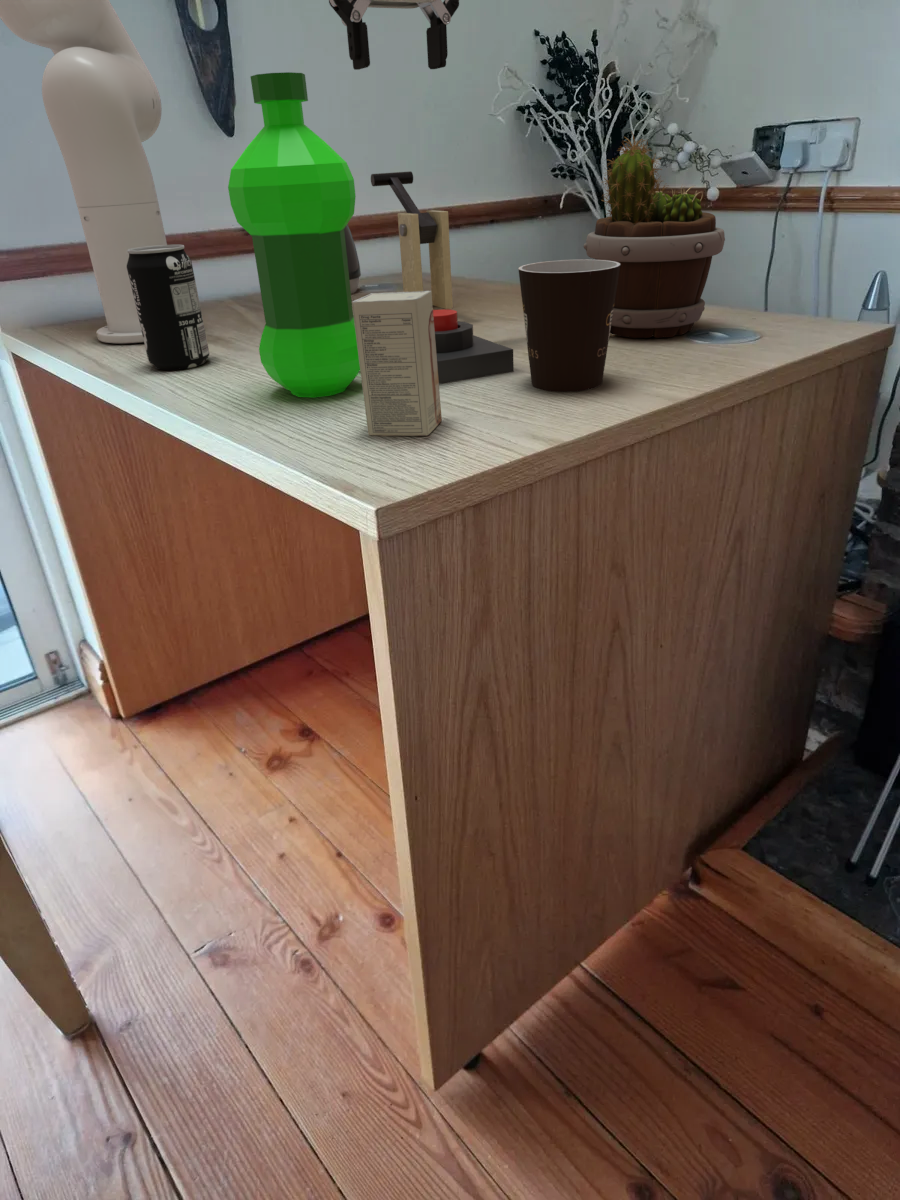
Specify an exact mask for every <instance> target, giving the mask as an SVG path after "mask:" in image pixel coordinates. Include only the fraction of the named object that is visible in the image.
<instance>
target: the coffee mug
mask: <svg viewBox="0 0 900 1200" xmlns="http://www.w3.org/2000/svg"><path fill="white" fill-rule="evenodd" d="M517 269H518V277H519V285H520V294H521V295H520V296H521V303H522V311H523V320H524V329H525V330H524V331H525V339H526V346H527V353H528V354H527V355H528V364H529V374H530V380H531V381H530V382H531V386H532V387H533V388H535V389H537V390H539V391H540V390H541V391H546V392H552V393H575V392H584V391H589V390H593V389H597V388H599V387H600V386H601V385H602V384H603V380H604V374H605V367H606V359H607V354H608V347H609V341H610V334H611V333H610V328H611V322H612V315H613V309H614V302H615V296H616V289H617V283H618V276H619V270H620V263H618V262H615V261H607V260H595V259H561V260H560V259H559V260H547V261H539V262H533V263H528V264H523V265H521V266H519V267H517Z"/></svg>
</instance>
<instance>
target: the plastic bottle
mask: <svg viewBox="0 0 900 1200" xmlns="http://www.w3.org/2000/svg"><path fill="white" fill-rule="evenodd" d="M249 78H250V83H251V91H252V97H253V103H254V104H257V105H260V106H261V112H262V118H263V125H264V126H263V127H262V129H260V131H259V132H258V133H257V134H256V135H255V137H254V138H253V139H252V140H251V141H250V143H249V144H248V145H247V146H246V148H245V149H244V151H243V152H242V153H241V154H240V156H239V157H238V159H237V160H236V161H235V163H234V164H233V166H232V167H231V168H230V172H229V179H228V186H227V189H228V193H229V194H228V195H229V200H230V201H229V202H230V206H231V209H232V212H233V214H234V218H235V220H236V222H237V223H238V225H239V226H241V228H242V229H244V230H245V231H246V232H247V233H248V234H249V235H250V237H251V238H252V246H253V252H254V259H255V264H256V271H257V277H258V283H259V291H260V296H261V297H260V298H261V302H262V309H263V315H264V322H265V325H264V328H263V331H262V332H261V337H260V342H259V345H258V352H259V358H260V363H261V365H262V367H263V368H264V370H265V372H266V373H267V375H268V376H269V377H270V379H272V380H273V381H274V382H275V383H276V384H279V386H281V387H283V388H284V389H285V390H287V391H290V394H291V395H293V396H296V397H298V398H311V399H312V398H313V399H315V398H323V397H331V396H335V395H337V394H340V393H344V392H345V391H346V389H347V387H349V385H350V384H351V383H352V382H353V381H354V380H355V379H356V377H357V376H358V374H359V372H360V364H359V356H358V348H357V340H356V332H355V324H354V316H353V307H352V301H353V300H352V294H351V290H350V281H349V271H348V262H347V252H346V243H345V234H344V228H345V227H346V225H347V224H348V223H350V221H351V219H352V218H353V216H354V215H355V208H356V207H355V206H356V197H357V196H356V187H355V178H354V176H353V174H352V171H351V169H350V167H349V165H348V162H347V161H346V160H345V159H344V158H343V157H342V156H341V155H340V154H339V153H337V152H336V151H335V150H334V149H333V148H332V147H331V146H330V145H329V144H328V143H327V142H326V141H325V140H323V139H322V137H320V136H319V135H317V134H316V133H315V132H314V131H313V130H311V128H309V127H308V126H307V125H306V124H305V121H304V120H305V119H304V112H303V111H304V110H303V103H304V102H308V101H309V98H308V90H307V88H308V87H307V81H306V74H305V73H303V72H293V71H292V72H290V71H289V72H287V71H286V72H268V73H267V72H266V73H257V74H253V75H250V77H249ZM348 225H349V224H348Z"/></svg>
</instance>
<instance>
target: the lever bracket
mask: <svg viewBox="0 0 900 1200" xmlns="http://www.w3.org/2000/svg"><path fill="white" fill-rule="evenodd" d="M426 212H429V214H430V215H431V217H432V218H433V220H434V221H435V223H436V224H437V229H436V235H435V241H434V243H428V254H429V256H428V257H429V271H430V273H429V274H430V291H431V293H432V305H433V306H435V307H437V308H439V309H440V308H441V309H447V310H452V309H453V308H454V306H453V305H454V304H453V287H452V285H453V284H452V264H451V263H452V262H451V243H450V223H449V211H448V210H435V209H431V210H426ZM397 223H398V225H397V226H398V238H399V250H400V262H401V276H402V277H401V278H402V289H403V292H416V291H424V284H423V283H424V282H423V268H422V267H423V265H422V253H421V251H422V250H421V244H420V235H419V220H418V214H413V213H407V212H398V213H397Z"/></svg>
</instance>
